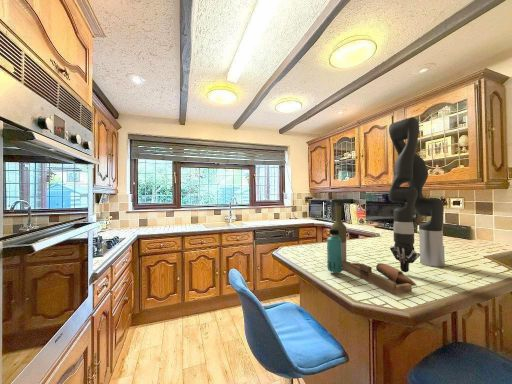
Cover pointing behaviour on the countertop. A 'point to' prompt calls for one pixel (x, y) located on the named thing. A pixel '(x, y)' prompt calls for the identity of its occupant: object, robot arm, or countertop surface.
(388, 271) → the sunglasses case
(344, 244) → the bottle
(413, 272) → the countertop surface
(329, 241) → the beverage bottle
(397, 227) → the robot arm
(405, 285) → the display cradle
